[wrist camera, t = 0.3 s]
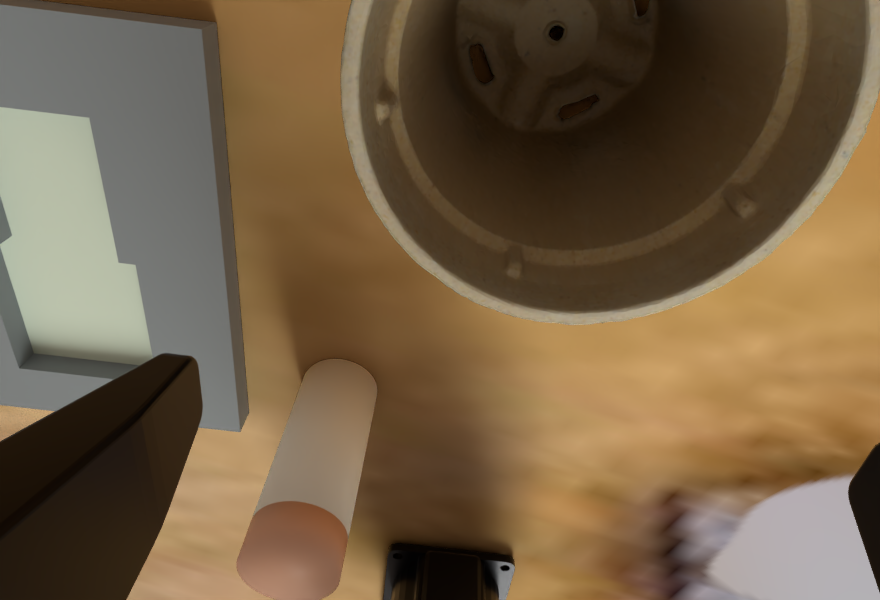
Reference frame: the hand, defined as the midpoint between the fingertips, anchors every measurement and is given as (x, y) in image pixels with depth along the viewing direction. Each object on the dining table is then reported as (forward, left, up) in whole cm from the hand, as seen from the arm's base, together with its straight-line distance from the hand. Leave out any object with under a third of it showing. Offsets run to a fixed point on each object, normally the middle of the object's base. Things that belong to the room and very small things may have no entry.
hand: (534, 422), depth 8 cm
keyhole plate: (-6, +15, -14) cm, 21 cm away
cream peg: (-12, +5, -14) cm, 19 cm away
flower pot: (+3, -1, -14) cm, 14 cm away
